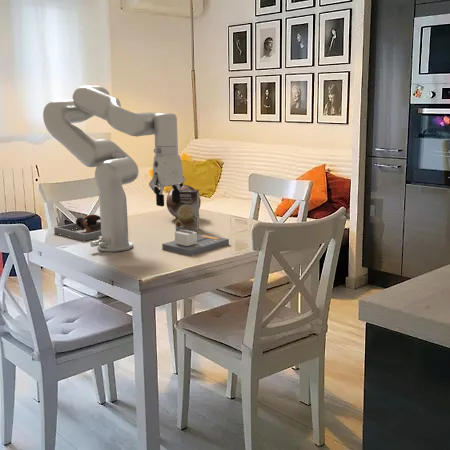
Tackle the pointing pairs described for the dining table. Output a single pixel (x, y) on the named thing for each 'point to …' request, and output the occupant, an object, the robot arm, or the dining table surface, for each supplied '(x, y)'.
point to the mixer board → (197, 245)
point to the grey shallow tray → (67, 231)
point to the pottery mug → (89, 223)
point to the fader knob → (185, 237)
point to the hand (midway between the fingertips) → (168, 203)
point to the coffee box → (187, 210)
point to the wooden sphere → (172, 205)
